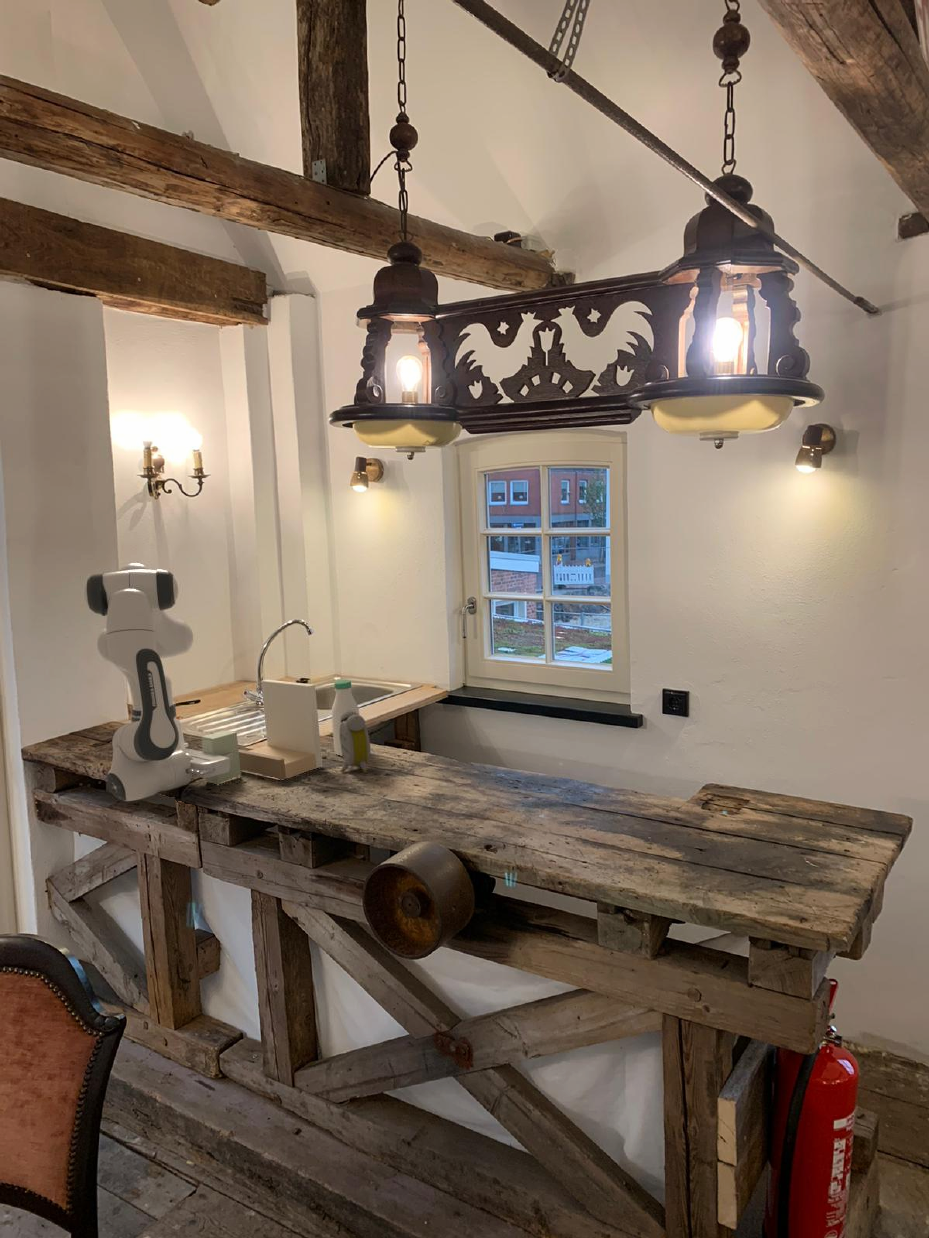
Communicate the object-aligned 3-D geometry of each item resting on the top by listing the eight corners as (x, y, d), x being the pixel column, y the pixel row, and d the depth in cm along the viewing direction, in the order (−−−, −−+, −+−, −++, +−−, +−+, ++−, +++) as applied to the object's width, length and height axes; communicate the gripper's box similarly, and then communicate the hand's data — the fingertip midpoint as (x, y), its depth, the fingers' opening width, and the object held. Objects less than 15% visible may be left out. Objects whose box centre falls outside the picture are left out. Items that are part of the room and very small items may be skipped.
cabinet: (202, 783, 220) (197, 737, 218) (229, 775, 226) (225, 730, 224) (214, 786, 217) (209, 739, 215) (241, 777, 223) (236, 732, 221)
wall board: (233, 770, 230) (225, 689, 227) (274, 757, 240) (267, 679, 237) (281, 781, 217) (272, 695, 214) (322, 767, 227) (314, 684, 224)
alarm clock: (373, 773, 218) (368, 715, 216) (346, 778, 216) (341, 719, 214) (361, 762, 229) (356, 707, 227) (335, 767, 226) (330, 710, 225)
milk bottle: (360, 755, 236) (354, 683, 233) (332, 757, 236) (326, 685, 233) (364, 748, 243) (358, 678, 241) (337, 749, 243) (331, 680, 241)
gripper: (199, 761, 204) (247, 747, 214) (152, 751, 217) (200, 737, 228) (201, 787, 205) (250, 771, 215) (155, 775, 218) (203, 761, 228)
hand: (224, 754), depth 222 cm, fingers open, 5 cm apart
